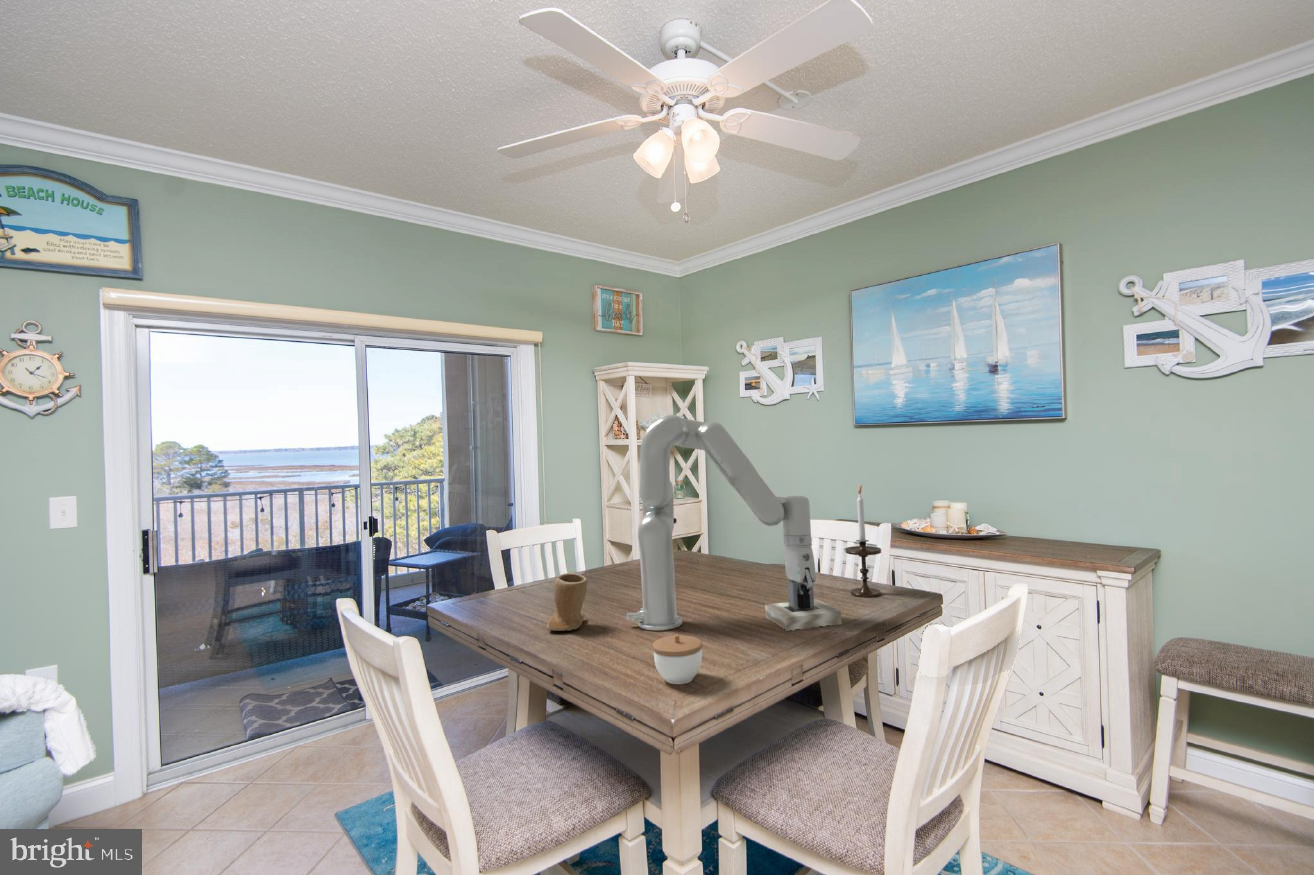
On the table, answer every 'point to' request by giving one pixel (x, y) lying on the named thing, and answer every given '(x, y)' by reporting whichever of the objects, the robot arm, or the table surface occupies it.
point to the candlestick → (863, 554)
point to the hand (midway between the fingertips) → (801, 605)
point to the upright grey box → (793, 597)
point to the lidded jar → (678, 658)
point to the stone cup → (568, 602)
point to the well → (802, 616)
